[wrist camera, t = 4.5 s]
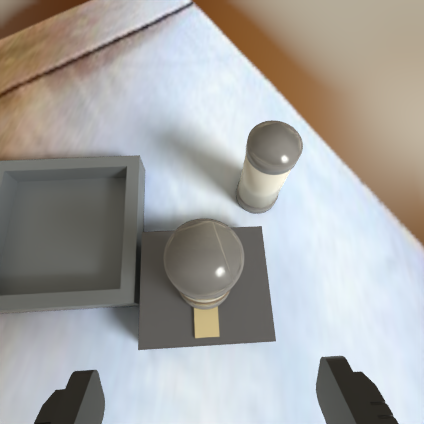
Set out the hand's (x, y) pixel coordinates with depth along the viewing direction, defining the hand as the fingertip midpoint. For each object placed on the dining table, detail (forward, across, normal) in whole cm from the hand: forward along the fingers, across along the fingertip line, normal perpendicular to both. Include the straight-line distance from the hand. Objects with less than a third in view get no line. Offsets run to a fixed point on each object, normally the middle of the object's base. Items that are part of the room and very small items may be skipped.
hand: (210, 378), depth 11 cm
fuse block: (+12, 0, +5) cm, 13 cm away
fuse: (+18, -5, 0) cm, 18 cm away
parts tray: (+15, +11, +2) cm, 19 cm away
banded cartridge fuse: (+10, 0, +3) cm, 10 cm away
